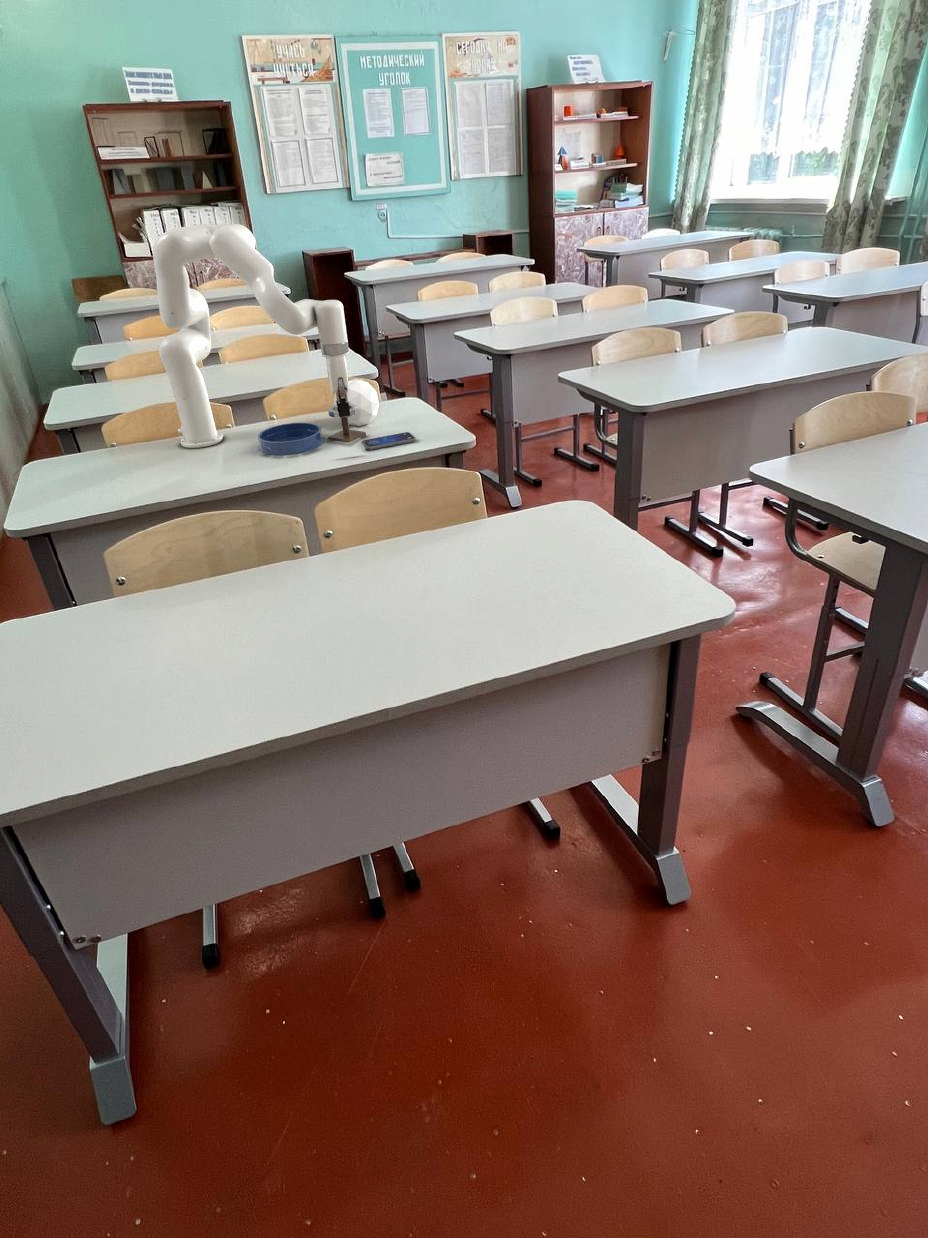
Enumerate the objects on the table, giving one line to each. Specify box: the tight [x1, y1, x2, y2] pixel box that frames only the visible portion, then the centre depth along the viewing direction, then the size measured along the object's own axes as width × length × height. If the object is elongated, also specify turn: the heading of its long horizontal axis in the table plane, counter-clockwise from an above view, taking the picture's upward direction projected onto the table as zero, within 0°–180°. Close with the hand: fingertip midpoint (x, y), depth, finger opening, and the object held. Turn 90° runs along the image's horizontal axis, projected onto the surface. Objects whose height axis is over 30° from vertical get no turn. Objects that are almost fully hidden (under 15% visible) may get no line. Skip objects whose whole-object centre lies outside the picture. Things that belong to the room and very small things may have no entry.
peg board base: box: [327, 417, 367, 443], centre depth 223 cm, size 8×8×8 cm
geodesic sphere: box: [332, 377, 380, 428], centre depth 234 cm, size 15×14×14 cm
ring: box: [327, 404, 358, 419], centre depth 220 cm, size 8×8×2 cm
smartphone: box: [360, 431, 417, 451], centre depth 219 cm, size 7×1×15 cm
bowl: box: [257, 422, 324, 456], centre depth 221 cm, size 18×18×4 cm
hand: (344, 414), depth 218 cm, fingers closed on ring, 1 cm apart
